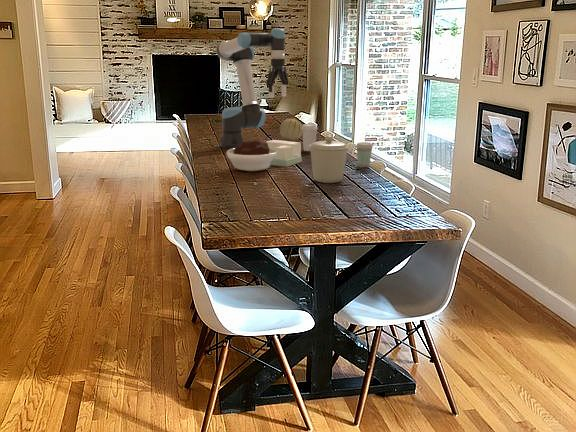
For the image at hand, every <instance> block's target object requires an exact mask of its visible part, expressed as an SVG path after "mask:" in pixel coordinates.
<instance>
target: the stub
mask: <svg viewBox="0 0 576 432" xmlns="http://www.w3.org/2000/svg"><path fill="white" fill-rule="evenodd" d="M292 149H293V146H284V145H282V146H278V147H275V150H276V151H277V155H276V157H275V159H280V160H289V159H292Z"/></svg>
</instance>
